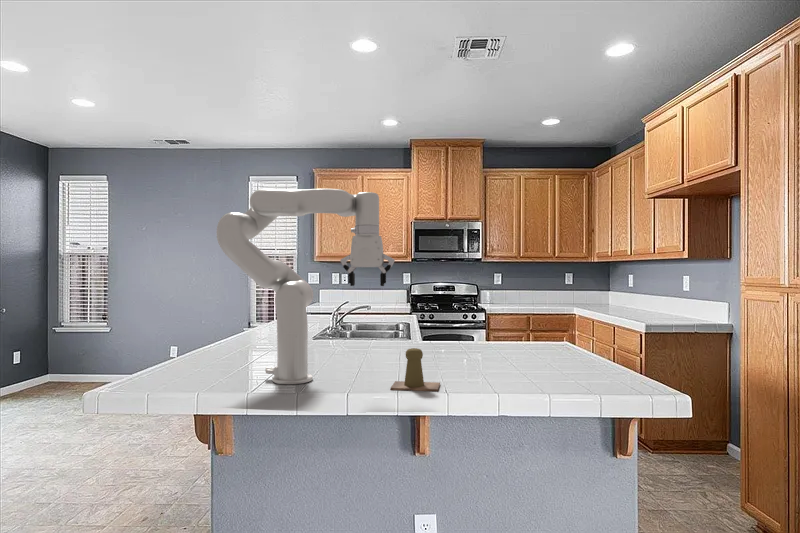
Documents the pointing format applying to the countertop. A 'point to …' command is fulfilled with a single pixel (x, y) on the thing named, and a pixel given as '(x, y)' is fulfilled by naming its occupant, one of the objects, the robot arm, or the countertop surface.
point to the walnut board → (427, 387)
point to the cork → (414, 368)
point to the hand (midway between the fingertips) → (367, 285)
